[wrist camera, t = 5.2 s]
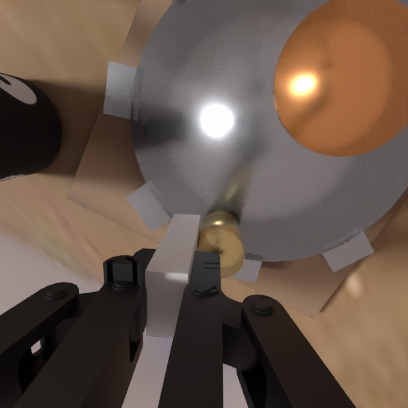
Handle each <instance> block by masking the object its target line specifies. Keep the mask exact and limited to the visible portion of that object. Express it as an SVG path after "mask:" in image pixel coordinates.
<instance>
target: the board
mask: <svg viewBox="0 0 408 408" xmlns="http://www.w3.org/2000/svg"><path fill="white" fill-rule="evenodd" d="M172 3H173V2H172V1H171V0H141V1H140V4H139V7H138V9H137V12H136V15H135V17H134V20H133V23H132V25H131V28H130V31H129V33H128V36H127V39H126V41H125V44H124V47H123V49H122V52H121V54H120V57H119V60H118V62H117V63H119V64H124V65H128V66H133V67H137V68H138V65H139V62H140V59H141V56H142V53H143V50H144V48H145V46H146V44H147V42H148V40H149V38H150V36H151V34H152V32H153V30H154V29H155V27H156V25H157V24H158V22H159V21H160V19H161V18H162V16H163V14H164V13H165V12H166V11H167V9H168V8H169V7H170V6H171V5H172ZM104 102H105V97H104V100H103V102H102V105H101V108H100V110H99V113H98V116H97V118H96V121H95V124H94V126H93V129H92V132H91V134H90V137H89V140H88V142H87V145H86V148H85V150H84V153H83V156H82V158H81V161H80V164H79V166H78V169H77V172H76V174H75V177H74V180H73V182H72V185H71V188H70V190H69V193H68V196H67V199H69V200H71V201H74V202H76V203H78V204H80V205H82V206H84V207H86V208H88V209H90V210H92V211H94V212H96V213H98V214H100V215H102V216H104V217H106V218H108V219H110V220H112V221H114V222H116V223H118V224H121V225H123V226H125V227H127V228H129V229H131V230H133V231H135V232H137V233H139V234H141V235H143V236H145V237H147V238H149V239H151V240H153V241H155V242H157V243H160V242H161V240H162V238H163V236H164V234H165V232H166V230H167V228H168V226H169V224H170V222H171V220H170V221H169V222H167V223H166V224H164V225H162V226H161V227H159V228H157V229H156V230H154V231H152V232H151V231H150V230H149V228H148V227H147V226H146V224H145V223H144V222H143V220H142V219H141V217H140V216H139V215H138V213H137V212H136V211H135V209H134V208H133V206H132V205H131V204H130V202H129V201H128V200H127V198H126V196H127V195H129V194H130V193H131V192H133V191H134V190H135V189H137V188H139V187H140V186H142V185H143V184H145V183H146V182H145V180H144V177H143V175H142V173H141V171H140V167H139V164H138V161H137V158H136V155H135V150H134V145H133V139H132V133H131V119H126V118H122V117H117V116H113V115H108V114H104V113H103V112H104ZM407 196H408V187H407V188H406V190H405V191H404V192H403V194H402V195H401V196H400V198H399V199H398V200H397V201H396V202H395V204H394V205H393V206H392V207H391V208H390V209H389V210H388V211H387V212H386V213H385V214H384V215H383V216H382V217H381V218H380V219H379V220H378V221H377V222H376V223H374V224H373V225H372V226H370V227H369V228H368V229H366V230H365V231H364V233H365V235H366V237H367V239H368V241H369V243H370V244H371V243H372V242H373V240H374V239H375V238H376V237H377V235H378V234H379V233H380V231H381V230H382V229H383V227H384V226H385V225H386V223H387V222H388V221H389V220H390V218H391V217H392V216H393V214H394V213H395V212H396V210H397V209H398V208H399V206H400V205H401V204H402V202H403V201H404V200H405V199H406V197H407ZM356 263H357V261H356V262H354V263H352V264H350V265H348V266H346V267H344V268H342V269H340V270H337V271H335V272H333V271H332V270H331V269H330V268H329V266H328V265H327V264H326V263H325V261H324V260H323V259H322V257H321V256H320V254H317V255H314V256H311V257H307V258H302V259H297V260H291V261H278V262H269V261H262V264H261V267H260V270H259V273H258V277H257V280H256V283H255V282H251V281H246V280H242V279H237V278H233V277H229V278H231V279H233V280H235V281H237V282H239V283H241V284H243V285H245V286H247V287H249V288H251V289H253V290H255V291H257V292H259V293H262V294H264V295H266V296H269V297H271V298H273V299H275V300H277V301H278V302H280V303H282V304H284V305H286V306H288V307H290V308H292V309H294V310H296V311H298V312H300V313H302V314H304V315H306V316H309V317H311V318H313V319H314V318H315V316H316V315H317V314H318V312H319V311H320V310H321V309H322V307H323V306H324V305H325V303H326V302H327V301H328V299H329V298H330V297H331V295H332V294H333V293H334V291H335V290H336V289H337V288H338V286H339V285H340V284H341V282H342V281H343V280H344V278H345V277H346V276H347V274H348V273H349V272H350V271H351V269H352V268H353V267H354V265H355V264H356Z"/></svg>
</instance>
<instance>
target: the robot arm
mask: <svg viewBox="0 0 408 408" xmlns="http://www.w3.org/2000/svg"><path fill="white" fill-rule="evenodd" d="M200 217H201V215H188V214H175V215H174V216H173V218H172V220H171V222H170V224H169V226H168V228H167V230H166V232H165V234H164V236H163V238H162V240H161V242H160V243H159V245H158V247H157V249H145V248H143V249H141V250H139V251H138V252H136V253H135V254H134V256H129V255H120V256H115V257H112V258H109V259H107V260H106V261H105V262H103V270H104V285H103V286H102V288H101V289H100V290H99V291H96V292H91V293H83V294H79V288H78V287H77V285H75V284H73V283H67V282H61V283H55V284H52V285H49V286H47V287H45V288H43V289H41V290H39V291H38V292H36V293H34V294H33V295H31V296H30V297H28V298H27V299H25V300H24V301H22V302H20V303H19V304H17V305H16V306H14V307H13V308H11V309H9V310H8V311H6V312H5V313H3V314H2V315H0V408H121V407H122V404H123V402H124V399H125V396H126V393H127V390H128V387H129V385H130V381H131V379H132V376H133V373H134V370H135V367H136V364H137V361H138V359H139V356H140V352H141V350H142V347H143V332H144V329H145V327H146V336H152V337H153V336H154V337H166V338H173V342H172V346H171V351H170V355H169V360H168V364H167V369H166V373H165V378H164V382H163V387H162V391H161V396H160V400H159V405H158V408H223V363H224V364H226V365H229V366H232V367H234V368H236V371H237V376H238V379H239V382H240V385H241V388H242V390H243V394H244V396H245V399H246V402H247V405H248V408H356V407H355V405H354V404H353V403H352V401H351V400H350V399H349V397H348V396H347V394H346V393H345V392H344V390H343V389H342V387H341V386H340V385H339V383H338V382H337V381H336V379H335V378H334V376H333V375H332V374H331V372H330V371H329V370H328V368H327V367H326V365H325V364H324V363H323V361H322V360H321V358H320V357H319V356H318V354H317V353H316V352H315V350H314V349H313V347H312V346H311V345H310V343H309V342H308V341H307V339H306V338H305V336H304V335H303V334H302V332H301V331H300V329H299V328H298V327H297V325H296V324H295V323H294V321H293V320H292V318H291V317H290V316H289V314H288V313H287V312H286V310H285V309H284V307H283V306H282V305H281V304H280V303H279V302H278V301H277V300H275V299H273V298H271V297H269V296H265V295H251V296H248V297H246V298H245V299H244V301H243V303H241V302H238V301H235V300H232V299H230V298H228V297H227V296H226V295H224V294H223V292H222V290H221V269H220V268H221V266H220V256H219V255H218V254H217V253H216V252H205V251H197V246H198V241H199V235H200ZM39 340H40V344H41V348H40V349H39V350H38V351H37V352H35V353H33V354H32V351H31V347H32V346H33V345H34V344H35V343H36V342H38V341H39Z"/></svg>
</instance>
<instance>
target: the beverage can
mask: <svg viewBox="0 0 408 408" xmlns="http://www.w3.org/2000/svg"><path fill="white" fill-rule="evenodd" d="M61 139H62V130H61V123H60V119H59V116H58V114H57V111H56V109H55V107H54V105H53V104H52V102H51V101H50V99H49V98H48V97H47V96H46V95H45V94H44V93H43V92H42V91H41V90H40V89H39V88H38V87H36V86H35V85H33V84H32V83H30V82H28V81H26V80H24V79H22V78H19V77H15V76H11V75H7V74H3V73H0V181H5V180H9V179H13V178H17V177H21V176H25V175H29V174H33V173H37V172H39V171H41V170H43V169H45V168H46V167H47V166H48V165H50V164H51V163H52V161H53V160H54V159H55V157H56V156H57V154H58V152H59V149H60V145H61Z"/></svg>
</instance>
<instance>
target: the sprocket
mask: <svg viewBox="0 0 408 408" xmlns="http://www.w3.org/2000/svg"><path fill="white" fill-rule="evenodd" d="M171 1H172V2H173V3H172V5H171V6H170V7H169V8H168V9H167V11H166V12H165V13H164V14H163V16H162V18H161V19H160V21H159V22H158V24H157V25H156V27H155V29H154V30H153V32H152V34H151V36H150V38H149V40H148V42H147V44H146V46H145V48H144V50H143V53H142V56H141V59H140V62H139V65H138V68H137V67H133V66H128V65H124V64H119V63H115V62H111V61H109V64H108V73H107V83H106V93H105V102H104V112H103V113H104V114H108V115H113V116H117V117H122V118H126V119H131V133H132V139H133V145H134V150H135V155H136V158H137V161H138V164H139V167H140V171H141V173H142V175H143V177H144V180H145V182H146V183H145V184H143V185H142V186H140V187H139V188H137V189H135V190H134V191H133V192H131V193H130V194H129V195H127V196H126V198H127V200H128V201H129V202H130V204H131V205H132V206H133V208H134V209H135V211H136V212H137V213H138V215H139V216H140V217H141V219H142V220H143V222H144V223H145V224H146V226H147V227H148V228H149V230H150V231H151V232H152V231H154V230H156V229H157V228H159V227H161V226H162V225H164V224H166V223H167V222H169V221H170V220H172V218H173V216H174V215H175V214H188V215H201V217H200V235H199V241H198V246H197V251H205V252H216V253H217V254H218V255H219V256H220V266H221V268H220V269H221V278H228V277H233V278H237V279H242V280H246V281H251V282H255V283H256V280H257V277H258V273H259V270H260V267H261V264H262V261H269V262H278V261H291V260H297V259H302V258H307V257H311V256H314V255H317V254H320V256H321V257H322V259H323V260H324V261H325V263H326V264H327V265H328V266H329V268H330V269H331V270H332V271H333V272H335V271H337V270H340V269H342V268H344V267H346V266H348V265H350V264H352V263H354V262H356V261H358V260H360V259H362V258H364V257H366V256H368V255H370V254H372V253H374V250H373V248H372V246H371V245H370V243H369V241H368V239H367V237H366V235H365V233H364V231H365V230H366V229H368V228H369V227H370V226H372V225H373V224H374V223H376V222H377V221H378V220H379V219H380V218H381V217H382V216H383V215H384V214H385V213H386V212H387V211H388V210H389V209H390V208H391V207H392V206H393V205H394V204H395V202H396V201H397V200H398V199H399V198H400V196H401V195H402V194H403V192H404V191H405V190H406V188H407V187H408V0H171Z"/></svg>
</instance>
